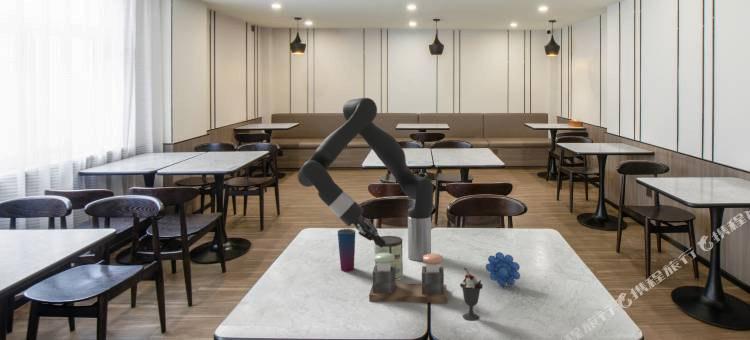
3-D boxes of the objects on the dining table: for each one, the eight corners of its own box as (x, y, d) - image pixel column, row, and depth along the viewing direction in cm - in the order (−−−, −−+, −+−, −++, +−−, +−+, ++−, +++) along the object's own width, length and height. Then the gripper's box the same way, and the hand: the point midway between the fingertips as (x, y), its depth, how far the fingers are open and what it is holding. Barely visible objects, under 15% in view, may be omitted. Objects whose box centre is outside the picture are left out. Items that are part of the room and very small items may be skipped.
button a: (373, 280, 171) (373, 258, 170) (375, 273, 178) (375, 252, 177) (393, 281, 171) (392, 259, 170) (394, 274, 177) (394, 252, 176)
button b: (422, 281, 170) (422, 259, 168) (423, 275, 176) (423, 253, 175) (442, 282, 169) (442, 260, 168) (442, 275, 175) (442, 253, 174)
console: (369, 300, 170) (368, 274, 169) (373, 288, 181) (372, 263, 180) (446, 303, 167) (446, 276, 166) (446, 290, 178) (446, 264, 177)
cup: (353, 272, 197) (352, 233, 195) (336, 271, 198) (335, 233, 196) (358, 266, 203) (357, 229, 201) (341, 265, 205) (340, 228, 203)
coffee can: (381, 270, 199) (381, 234, 197) (407, 274, 194) (406, 237, 192) (370, 279, 190) (369, 241, 187) (396, 283, 185) (395, 244, 183)
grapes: (485, 289, 178) (486, 255, 176) (485, 282, 185) (485, 249, 183) (521, 291, 176) (522, 256, 174) (519, 283, 183) (520, 250, 181)
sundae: (457, 313, 160) (457, 265, 158) (478, 311, 160) (479, 264, 158) (462, 322, 153) (462, 273, 151) (485, 321, 154) (485, 272, 152)
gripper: (350, 205, 165) (390, 243, 165) (357, 196, 178) (393, 232, 178) (334, 221, 166) (373, 259, 167) (342, 211, 179) (378, 247, 180)
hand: (383, 245), depth 173 cm, fingers closed
